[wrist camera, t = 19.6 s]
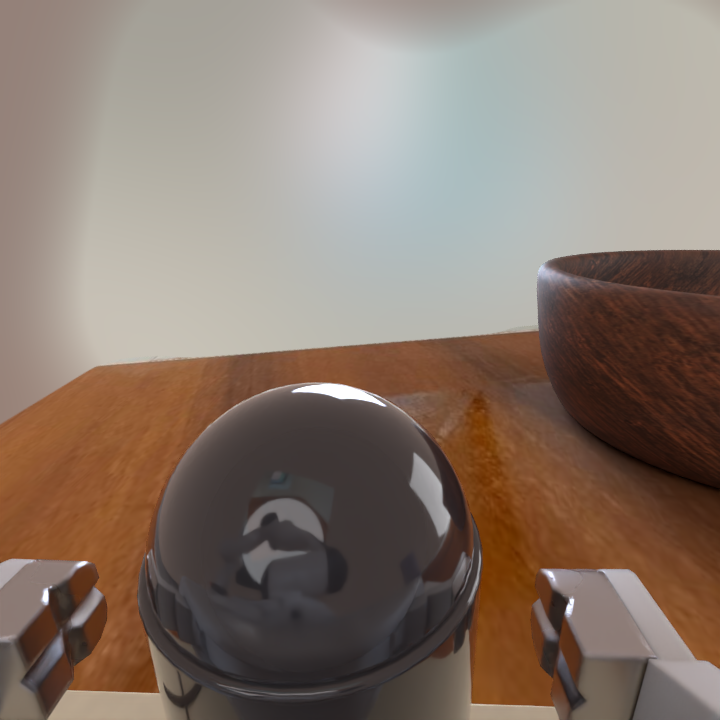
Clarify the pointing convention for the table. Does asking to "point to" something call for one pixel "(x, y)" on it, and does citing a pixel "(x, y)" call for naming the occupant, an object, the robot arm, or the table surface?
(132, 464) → the table surface
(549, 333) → the wooden bowl
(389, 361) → the table surface
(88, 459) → the table surface
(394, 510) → the dome-topped canister
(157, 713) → the board
